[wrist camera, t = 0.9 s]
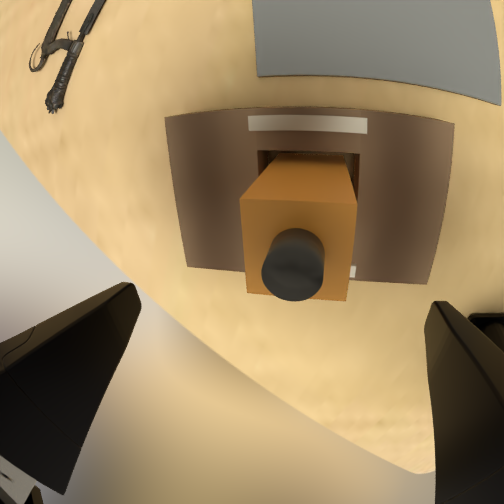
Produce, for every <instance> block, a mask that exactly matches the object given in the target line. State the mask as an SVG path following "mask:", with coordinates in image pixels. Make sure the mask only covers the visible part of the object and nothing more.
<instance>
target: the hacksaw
mask: <svg viewBox="0 0 504 504" xmlns="http://www.w3.org/2000/svg"><path fill="white" fill-rule="evenodd" d="M71 1H72V0H62V2H61V3H60V7H59V8H58V10H57V12H56V13H55V14H56V15H55V16H54V18H53V21H52V23H51V25H50V27H49V29H48V31H47V34H46V36H45V39H44V41H43V44H42V47H41V49H42V54H41V57H40V58H41V60H40V63H39V65H38V66H37V67H36V68H35V69H32V68H31V66H30V64H31V57H32V55H31V57H30V62H29V68H30V70H31V72H36V71H38V70H39V69H40V67H41V66H42V64H43V62H44V59H46V56H47V55H48V54H52V53H53V52H54V51H55V50H57V49H58V48H62V49H64V50H67V51H68V52H67V56H66V58H65V60H64V62H63V63H62V66H61V68H60V71H59V74H58V76H57V78H56V80H55V83H54V85H53V87H52V89H51V90H50V91H49V92H48V93H47V98H46V100H45V104H46V106H47V110H49V113H50V112H51V113H52V114H53V113H54V109H57V108H59V109H60V108H61V107H62V105H63V96H64V93H65V90H66V86H67V84H68V80H69V78H70V76H71V73H72V70H73V67H74V65H75V63H76V60H77V58H78V56H79V53H80V50H81V48H82V47H83V44H84V43H83V42H82V40H83V37H84V35H85V34H86V35H87V33H88V31H89V29H90V27H91V25H92V23H93V22H94V20H95V18H96V16H97V14H98V12H99V10H100V8H101V7H102V5H103V3H104V1H105V0H95V2H94V4H93V5H92V7H91V9H90V11H89V13H88V15H87V17H86V19H85V21H84V23H83V25H82V27H81V29H80V31H79V32H80V35H79V37H78V39H77V40H74V41H70V40H69V37H68V40H67V39H58V40H55V41H54V38H55V35H56V32H57V30H58V28H59V26H60V24H61V21H62V19H63V17H64V14H65V13H66V11H67V9H68V6H69V5H70V2H71ZM68 33H69V32H67V35H68ZM39 44H40V43H39ZM39 44H38V45H39ZM38 45H37V47H38ZM37 47H36V48H37ZM36 48H35V49H36ZM35 49H34V51H35ZM34 51H33V52H34ZM33 52H32V54H33Z"/></svg>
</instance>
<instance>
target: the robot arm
mask: <svg viewBox="0 0 504 504" xmlns="http://www.w3.org/2000/svg"><path fill="white" fill-rule="evenodd" d="M140 311H141V301H140V298H139V295H138V293H137V290H136V287H135V285H134V284H133V283H128V282H121V283H119V284H117V285H115V286H113V287H111V288H109V289H107V290H105V291H103V292H101V293H99V294H96V295H94V296H92V297H90V298H88V299H87V300H85V301H83V302H80V303H78V304H76V305H75V306H73V307H71V308H69V309H67V310H65V311H63V312H61V313H59V314H57V315H55V316H53V317H51V318H49V319H47V320H46V321H43V322H41V323H39V324H37V325H36V326H34V327H32V328H30V329H28V330H26V331H24V332H22V333H20V334H18V335H16V336H14V337H12V338H10V339H8V340H6V341H3V342H1V343H0V504H43V500H42V496H41V492H40V489H39V488H38V487H37V486H35V483H36V481H39V482H40V483H42V484H43V485H45V486H47V487H49V488H50V489H52V490H54V491H56V492H58V493H59V494H61V495H64V493H65V492H66V489H67V486H68V483H69V481H70V478H71V475H72V472H73V470H74V467H75V464H76V462H77V459H78V456H79V454H80V451H81V447H82V446H83V443H84V441H85V438H86V436H87V433H88V431H89V429H90V426H91V424H92V421H93V419H94V417H95V414H96V412H97V410H98V408H99V405H100V403H101V401H102V398H103V396H104V394H105V392H106V390H107V388H108V385H109V383H110V381H111V379H112V377H113V374H114V372H115V370H116V368H117V366H118V364H119V362H120V360H121V358H122V356H123V354H124V351H125V349H126V347H127V345H128V342H129V340H130V337H131V334H132V332H133V329H134V326H135V324H136V321H137V319H138V316H139V314H140ZM424 333H425V344H426V358H427V374H428V383H429V390H430V398H431V406H432V416H433V427H434V441H435V465H436V488H435V489H436V490H435V504H504V314H474V315H471V316H470V317H469V318H468V319H467V318H466V317H464V316H463V315H462V314H461V313H460V312H459V311H458V310H456V309H455V308H454V307H453V306H452V305H451V304H449V303H448V302H447V301H434V302H433V303H432V305H431V308H430V311H429V313H428V316H427V319H426V322H425V326H424Z"/></svg>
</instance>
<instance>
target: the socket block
mask: <svg viewBox="0 0 504 504" xmlns="http://www.w3.org/2000/svg"><path fill="white" fill-rule="evenodd" d="M165 125H166V134H167V143H168V151H169V158H170V166H171V173H172V180H173V187H174V193H175V200H176V206H177V212H178V218H179V224H180V230H181V236H182V241H183V247H184V252H185V257H186V262H187V267H195V268H206V269H217V270H228V271H239V272H245V262H244V250H243V238H242V225H241V213H240V200H239V199H240V198H241V197H242V195H243V194H244V193H245V192H246V191H247V190H248V188H249V187H250V186H251V185H252V184H253V183H254V181H255V180H256V179H257V178H258V177H259V176H260V174H261V173H262V172H263V171H264V170H265V169H266V168H267V166H268V165H269V161H268V150H294V151H325V152H344V153H354V177H353V190H354V193H355V197H356V201H357V216H356V227H355V236H354V245H353V254H352V262H351V269H350V277H349V280H357V281H373V282H389V283H407V284H426V285H427V282H428V278H429V275H430V271H431V268H432V264H433V260H434V256H435V252H436V248H437V244H438V240H439V235H440V231H441V226H442V221H443V216H444V211H445V205H446V199H447V193H448V186H449V179H450V171H451V162H452V152H453V140H454V123H450V122H446V121H442V120H437V119H432V118H426V117H421V116H414V115H408V114H400V113H393V112H384V111H375V110H364V109H351V108H334V107H256V108H238V109H225V110H214V111H204V112H196V113H188V114H181V115H176V116H170V117H165Z"/></svg>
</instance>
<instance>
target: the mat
mask: <svg viewBox="0 0 504 504" xmlns="http://www.w3.org/2000/svg"><path fill="white" fill-rule="evenodd" d="M252 6H253V19H254V33H255V48H256V63H257V76H258V77H265V76H292V75H315V76H342V77H357V78H369V79H378V80H387V81H394V82H401V83H408V84H414V85H420V86H425V87H430V88H435V89H440V90H444V91H449V92H453V93H457V94H461V95H465V96H469V97H472V98H476V99H479V100H483V101H486V102H489V103H492V104H495V105H499V106H501V74H500V60H499V50H498V42H497V35H496V28H495V22H494V17H493V12H492V7H491V2H490V0H252Z"/></svg>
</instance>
